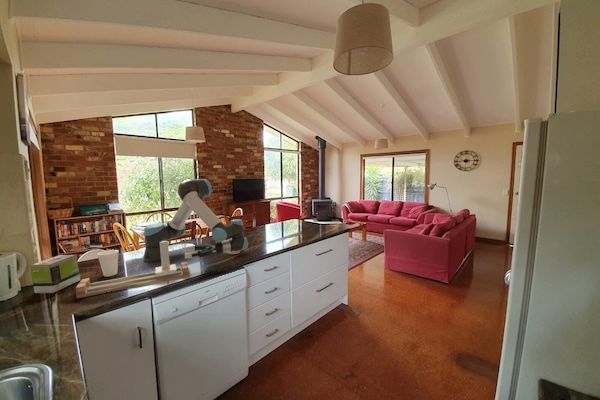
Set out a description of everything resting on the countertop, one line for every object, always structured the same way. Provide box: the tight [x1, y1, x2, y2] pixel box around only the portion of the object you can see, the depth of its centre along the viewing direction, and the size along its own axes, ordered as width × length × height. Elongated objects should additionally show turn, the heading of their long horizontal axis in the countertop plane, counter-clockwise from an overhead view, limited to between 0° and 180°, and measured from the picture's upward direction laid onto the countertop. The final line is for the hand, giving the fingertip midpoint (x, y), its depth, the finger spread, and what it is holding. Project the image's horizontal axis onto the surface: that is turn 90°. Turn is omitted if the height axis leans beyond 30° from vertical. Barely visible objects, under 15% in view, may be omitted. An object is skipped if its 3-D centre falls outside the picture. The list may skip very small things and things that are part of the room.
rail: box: [75, 261, 190, 299], centre depth 134 cm, size 12×48×5 cm, turn 119°
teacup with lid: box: [227, 238, 241, 255], centre depth 183 cm, size 12×9×12 cm
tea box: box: [29, 254, 81, 294], centre depth 130 cm, size 15×10×15 cm, turn 178°
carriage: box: [154, 240, 177, 277], centre depth 139 cm, size 10×10×17 cm
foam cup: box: [97, 249, 120, 278], centre depth 145 cm, size 10×9×13 cm
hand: (183, 252), depth 144 cm, fingers open, 13 cm apart
